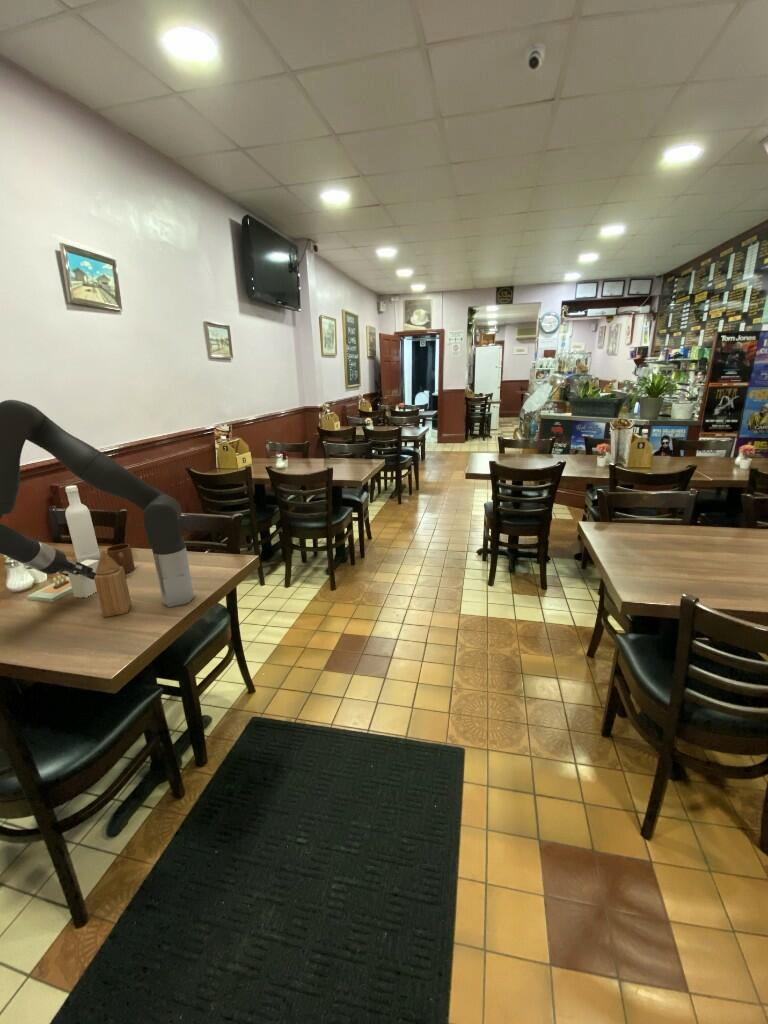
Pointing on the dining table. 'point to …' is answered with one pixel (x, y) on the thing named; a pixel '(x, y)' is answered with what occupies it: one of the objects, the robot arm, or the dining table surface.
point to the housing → (84, 581)
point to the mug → (122, 556)
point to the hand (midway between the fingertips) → (84, 575)
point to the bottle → (81, 527)
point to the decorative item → (111, 587)
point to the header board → (53, 590)
